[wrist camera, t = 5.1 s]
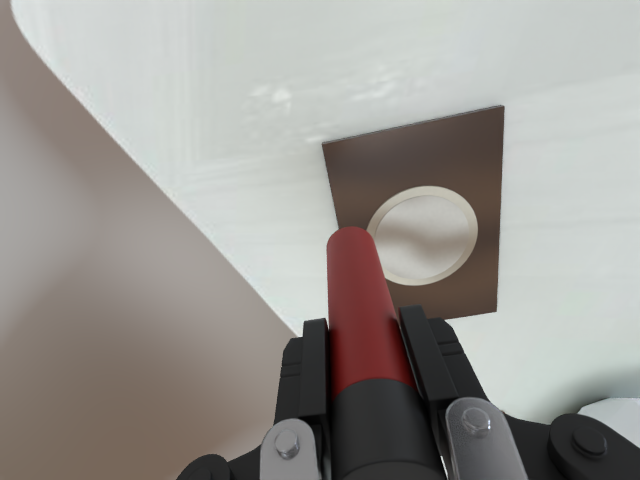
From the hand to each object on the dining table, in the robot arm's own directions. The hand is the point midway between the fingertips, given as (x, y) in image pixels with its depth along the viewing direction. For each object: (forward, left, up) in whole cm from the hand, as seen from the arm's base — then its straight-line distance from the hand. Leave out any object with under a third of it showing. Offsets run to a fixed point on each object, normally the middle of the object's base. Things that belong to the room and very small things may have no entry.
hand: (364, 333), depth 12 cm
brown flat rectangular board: (+7, +6, -19) cm, 22 cm away
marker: (0, 0, -6) cm, 6 cm away
